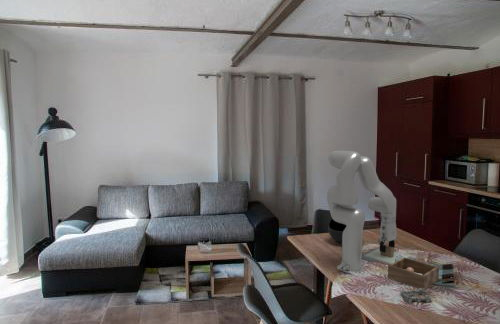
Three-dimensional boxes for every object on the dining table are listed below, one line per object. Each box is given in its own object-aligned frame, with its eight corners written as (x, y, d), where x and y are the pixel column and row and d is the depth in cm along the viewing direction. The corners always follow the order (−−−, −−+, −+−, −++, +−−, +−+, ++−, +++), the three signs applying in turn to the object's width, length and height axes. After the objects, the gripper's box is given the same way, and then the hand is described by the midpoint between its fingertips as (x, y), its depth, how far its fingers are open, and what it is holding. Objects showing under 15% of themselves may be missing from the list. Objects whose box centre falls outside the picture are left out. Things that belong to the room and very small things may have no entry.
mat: (396, 269, 166) (396, 268, 166) (357, 257, 183) (357, 256, 183) (416, 259, 180) (416, 258, 180) (378, 248, 197) (378, 247, 197)
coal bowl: (349, 237, 219) (350, 209, 218) (367, 247, 200) (368, 216, 199) (322, 240, 214) (322, 211, 213) (338, 250, 195) (338, 218, 194)
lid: (394, 265, 170) (394, 254, 169) (364, 256, 183) (364, 246, 182) (409, 258, 180) (410, 247, 180) (380, 250, 194) (380, 239, 193)
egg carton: (425, 297, 138) (425, 287, 138) (433, 306, 131) (433, 296, 131) (398, 295, 140) (399, 286, 139) (404, 304, 132) (405, 294, 132)
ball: (412, 277, 155) (412, 269, 155) (404, 274, 158) (404, 267, 158) (415, 275, 158) (415, 267, 157) (407, 272, 160) (408, 265, 160)
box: (423, 292, 142) (424, 276, 142) (387, 280, 154) (388, 265, 154) (438, 281, 152) (439, 267, 152) (403, 271, 165) (404, 257, 164)
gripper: (386, 223, 172) (385, 255, 173) (402, 218, 183) (401, 248, 184) (373, 220, 177) (372, 251, 179) (389, 215, 188) (388, 244, 190)
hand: (387, 249), depth 181 cm, fingers open, 9 cm apart
